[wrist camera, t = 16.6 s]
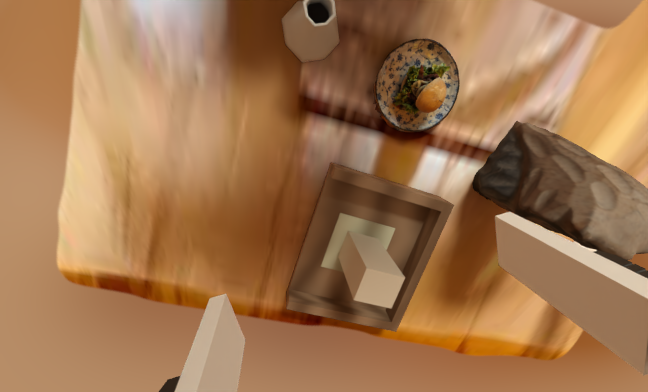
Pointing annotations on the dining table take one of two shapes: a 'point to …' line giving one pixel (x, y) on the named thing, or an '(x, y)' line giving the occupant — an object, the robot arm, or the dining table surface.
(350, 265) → the block
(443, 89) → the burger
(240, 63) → the dining table surface
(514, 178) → the owl
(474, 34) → the dining table surface
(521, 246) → the robot arm
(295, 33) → the flask
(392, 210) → the shallow rimmed tray
